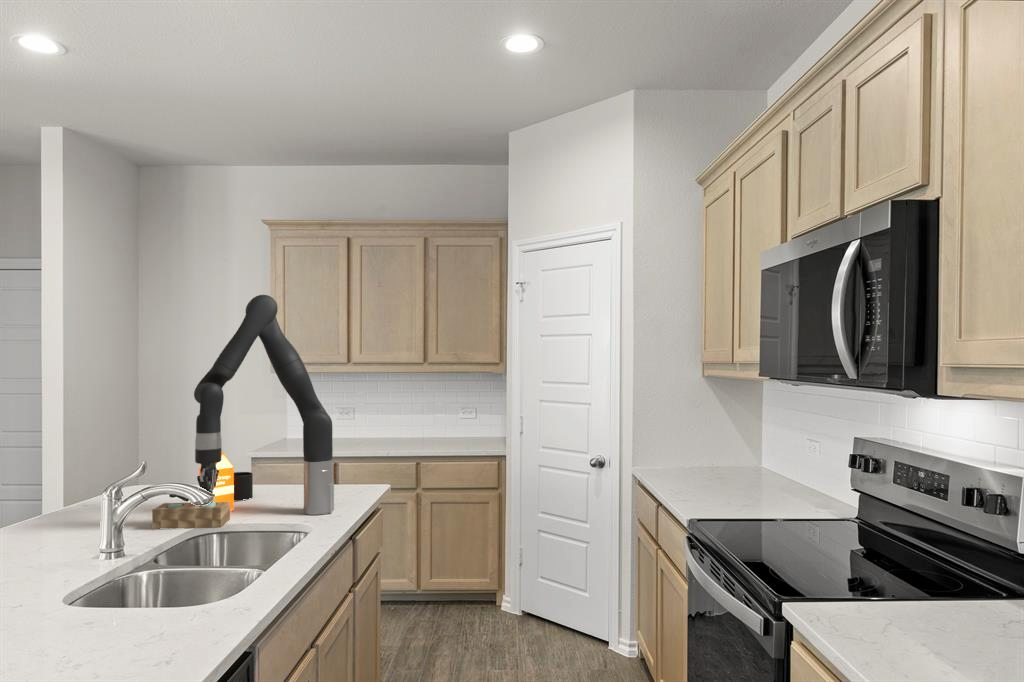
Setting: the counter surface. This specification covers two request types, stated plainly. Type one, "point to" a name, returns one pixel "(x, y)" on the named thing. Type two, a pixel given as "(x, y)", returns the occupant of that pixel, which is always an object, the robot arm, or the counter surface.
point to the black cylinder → (243, 485)
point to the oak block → (190, 516)
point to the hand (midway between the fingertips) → (208, 503)
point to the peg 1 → (174, 505)
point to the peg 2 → (210, 504)
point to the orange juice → (224, 482)
